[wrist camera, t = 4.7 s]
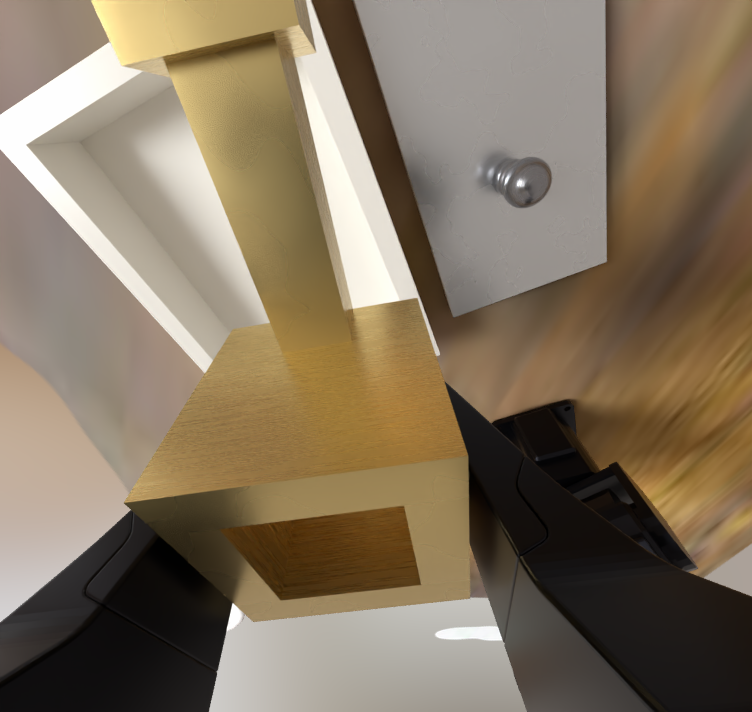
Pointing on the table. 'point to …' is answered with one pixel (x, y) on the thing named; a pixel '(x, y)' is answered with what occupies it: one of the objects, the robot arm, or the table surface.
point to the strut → (294, 357)
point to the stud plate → (498, 135)
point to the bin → (191, 193)
